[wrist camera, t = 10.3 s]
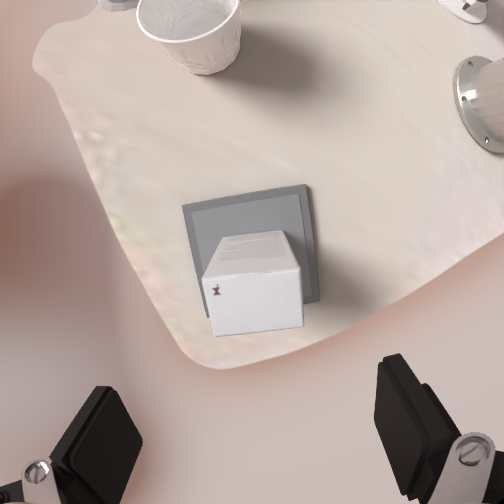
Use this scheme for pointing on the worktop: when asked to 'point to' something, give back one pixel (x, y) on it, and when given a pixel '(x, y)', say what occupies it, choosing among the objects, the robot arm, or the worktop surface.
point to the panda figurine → (466, 9)
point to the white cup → (194, 31)
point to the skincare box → (253, 285)
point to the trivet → (254, 228)
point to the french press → (118, 4)
